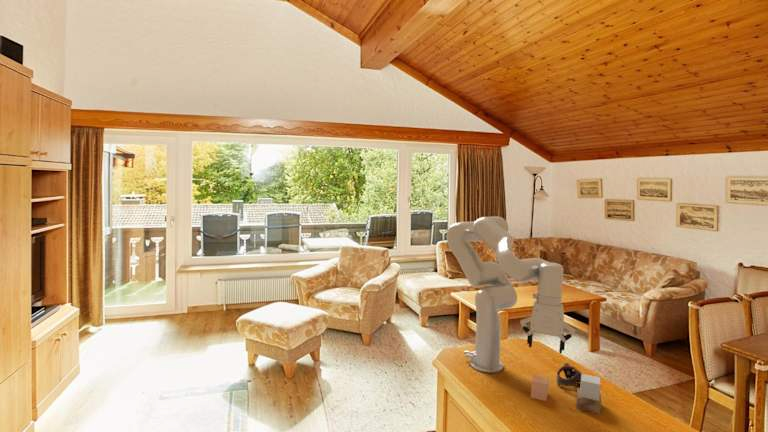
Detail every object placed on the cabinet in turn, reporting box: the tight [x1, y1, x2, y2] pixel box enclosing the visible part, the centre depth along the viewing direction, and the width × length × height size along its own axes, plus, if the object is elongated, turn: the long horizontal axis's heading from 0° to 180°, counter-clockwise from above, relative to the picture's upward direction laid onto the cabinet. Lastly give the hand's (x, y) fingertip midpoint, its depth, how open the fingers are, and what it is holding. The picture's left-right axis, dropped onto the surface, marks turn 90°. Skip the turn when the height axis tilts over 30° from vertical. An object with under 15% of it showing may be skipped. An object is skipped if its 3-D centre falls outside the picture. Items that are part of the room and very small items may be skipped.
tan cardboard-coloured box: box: [575, 387, 602, 415], centre depth 137 cm, size 7×7×4 cm
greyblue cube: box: [579, 373, 601, 401], centre depth 136 cm, size 6×6×6 cm
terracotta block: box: [530, 374, 550, 402], centre depth 142 cm, size 5×5×6 cm
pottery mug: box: [556, 362, 583, 387], centre depth 151 cm, size 12×10×8 cm
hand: (545, 348), depth 141 cm, fingers open, 9 cm apart
